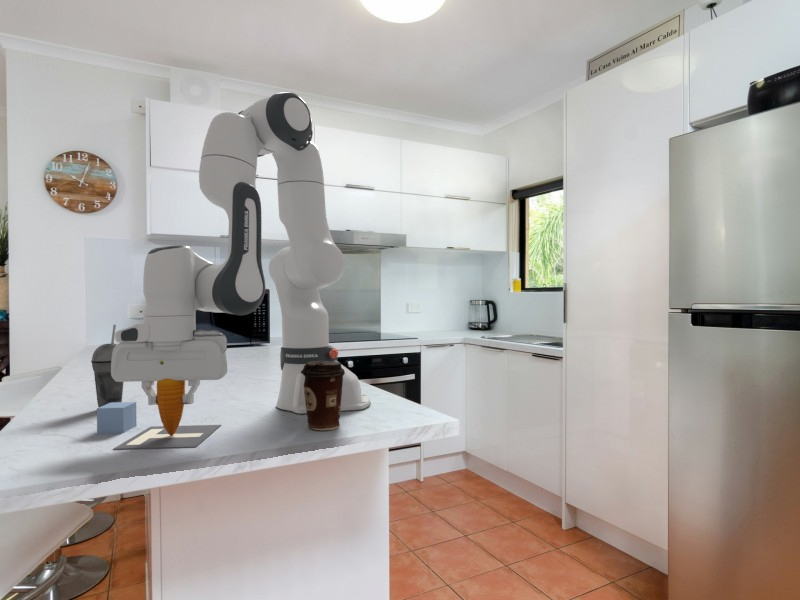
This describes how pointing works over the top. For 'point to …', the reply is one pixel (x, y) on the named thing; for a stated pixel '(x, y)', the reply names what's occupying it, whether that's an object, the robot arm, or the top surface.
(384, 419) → the top surface
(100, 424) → the slate cube
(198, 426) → the letter mat
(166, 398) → the carrot
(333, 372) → the coffee cup
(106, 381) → the beverage cup
